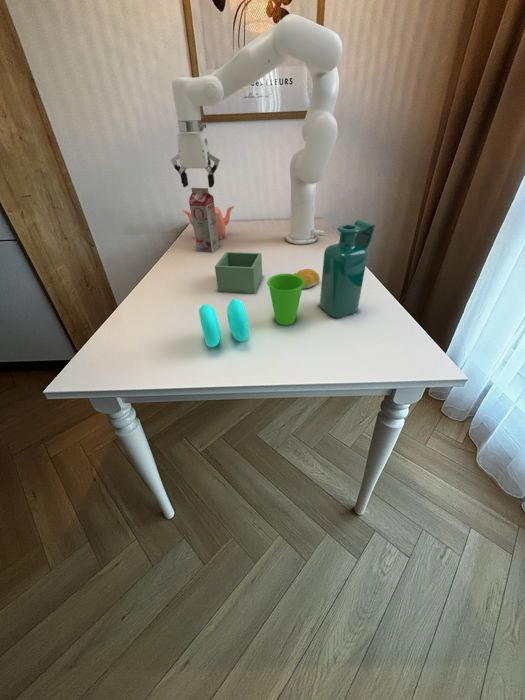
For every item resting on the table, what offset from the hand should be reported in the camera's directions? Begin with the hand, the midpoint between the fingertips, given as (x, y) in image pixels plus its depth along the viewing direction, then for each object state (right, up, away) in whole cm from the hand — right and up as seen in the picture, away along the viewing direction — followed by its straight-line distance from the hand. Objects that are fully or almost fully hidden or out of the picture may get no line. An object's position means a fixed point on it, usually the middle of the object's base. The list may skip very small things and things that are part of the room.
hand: (198, 186), depth 111 cm
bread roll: (+36, -38, -13) cm, 54 cm away
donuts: (+14, -56, -35) cm, 68 cm away
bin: (+16, -37, -12) cm, 42 cm away
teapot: (+1, -9, +25) cm, 27 cm away
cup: (+29, -51, -29) cm, 65 cm away
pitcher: (+44, -47, -26) cm, 70 cm away
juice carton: (+1, -18, +14) cm, 23 cm away
